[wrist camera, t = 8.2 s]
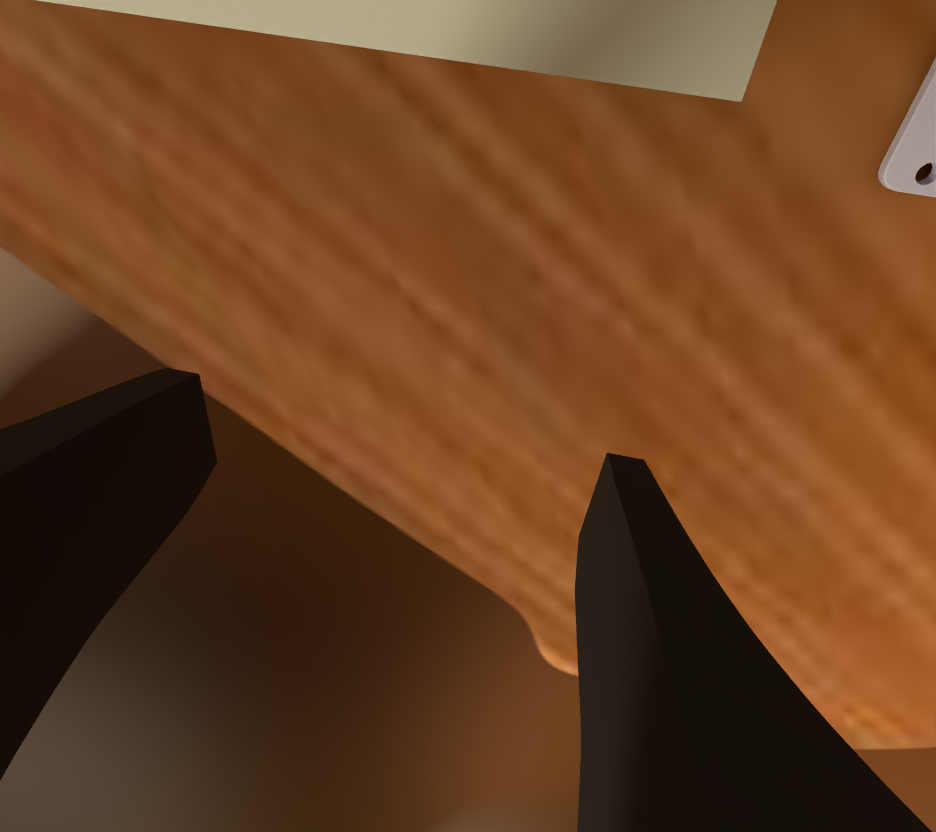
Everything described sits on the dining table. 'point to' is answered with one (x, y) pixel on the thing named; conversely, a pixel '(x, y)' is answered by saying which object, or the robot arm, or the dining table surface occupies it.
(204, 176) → the dining table surface
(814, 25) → the dining table surface
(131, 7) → the lid
